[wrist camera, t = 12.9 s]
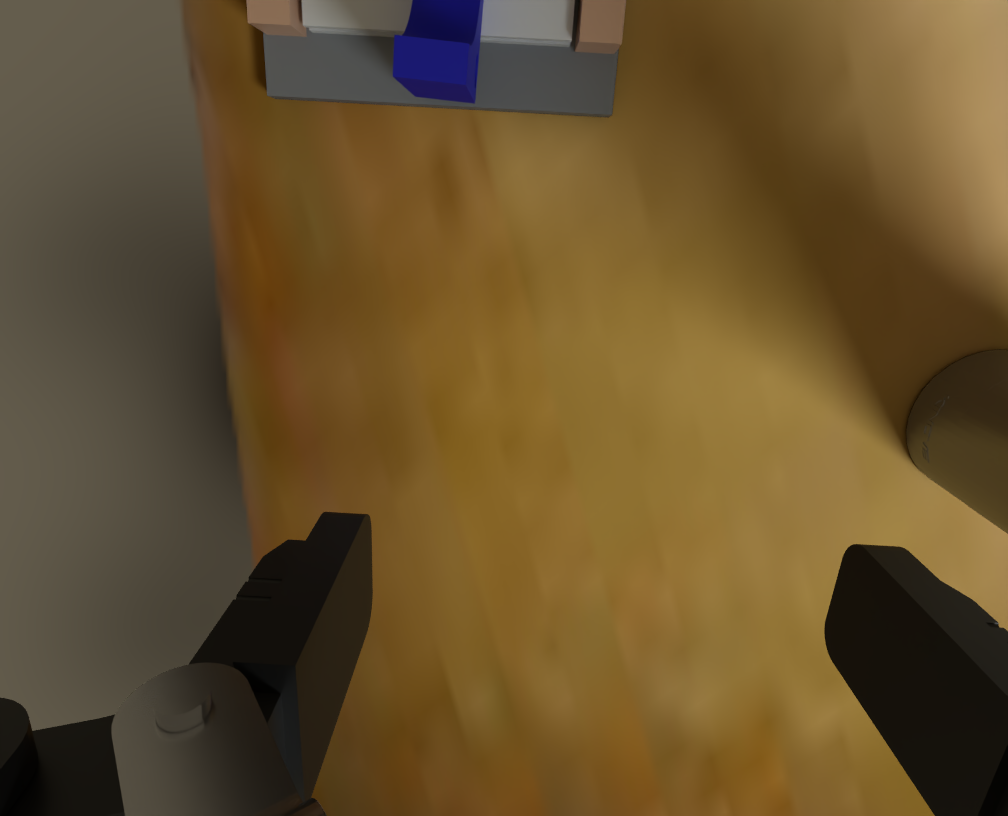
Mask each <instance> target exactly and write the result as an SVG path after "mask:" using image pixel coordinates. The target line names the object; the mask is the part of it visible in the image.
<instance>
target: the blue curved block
mask: <svg viewBox="0 0 1008 816" xmlns="http://www.w3.org/2000/svg"><path fill="white" fill-rule="evenodd" d="M483 3H484V0H412V6H411V12H410V16H409V20H408V23H407V27H406V29H405V31H404V33H403V35H402V36H401V35H394V57H393V77H394V78H395V79H396V80H397V81H398V82H399V83H400V84H402V85H403V86H404V87H405V88H406V89H407V90H408V91H409V92H410V93H412V94H413V95H414V96H415V97H422V98H430V99H439V100H448V101H456V102H465V103H473V104H475V99H476V87H477V75H478V63H479V51H480V39H481V27H482V15H483Z"/></svg>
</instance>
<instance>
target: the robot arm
mask: <svg viewBox="0 0 1008 816" xmlns="http://www.w3.org/2000/svg"><path fill="white" fill-rule="evenodd" d="M906 435H907V447H908V450H909V453H910V456H911V459H912V460H913V462H914V463H915V465H916V466H917V468H918V469H919V470H920V471H921V472H922V473H924V474H925V475H926V476H927V477H928V478H929V479H931V480H932V481H934V482H935V483H937V484H938V485H939V486H941V487H942V488H944V489H945V490H947V491H948V492H949V493H951V494H952V495H954V496H955V497H956V498H958V499H959V500H961V501H962V502H964V503H965V504H966V505H968V506H969V507H970V508H972V509H973V510H974V511H976V512H977V513H979V514H980V515H982V516H983V517H984V518H986V519H987V520H989V521H990V522H992V523H993V524H994V525H996V526H997V527H999V528H1000V529H1002V530H1003V531H1004V532H1006V533H1007V534H1008V350H992V351H984V352H980V353H977V354H974V355H971V356H967V357H965V358H963V359H961V360H959V361H957V362H955V363H953V364H951V365H950V366H948V367H947V368H946V369H944V370H943V371H942V372H940V373H939V374H938V375H936V376H935V377H934V378H933V379H932V380H931V382H930V383H929V384H928V385H927V386H926V387H925V388H924V389H923V391H922V392H921V394H920V395H919V397H918V398H917V400H916V402H915V403H914V406H913V408H912V411H911V413H910V416H909V419H908V425H907V431H906ZM372 595H373V589H372V533H371V520H370V516H369V515H368V514H353V513H336V512H324V513H322V515H321V516H320V518H319V519H318V521H317V523H316V524H315V526H314V528H313V529H312V531H311V533H310V534H309V536H308V538H307V539H306V541H302V540H287V541H285V542H284V543H282V544H281V545H279V546H278V547H277V548H275V549H274V550H272V551H271V552H269V553H268V554H266V555H265V556H263V558H262V559H261V560H260V562H259V563H258V565H257V566H256V568H255V569H254V571H253V572H252V573H251V575H250V576H249V581H248V582H245V584H244V585H243V587H242V588H241V589H240V591H239V592H238V594H237V598H236V600H233V601H232V602H231V604H230V605H229V607H228V608H227V610H226V611H225V613H224V614H223V615H222V617H221V618H220V620H219V621H218V623H217V624H216V626H215V627H214V628H213V630H212V631H211V633H210V634H209V636H208V637H207V639H206V640H205V641H204V643H203V644H202V646H201V647H200V649H199V650H198V652H197V653H196V654H195V656H194V657H193V659H192V660H191V662H190V663H189V665H184V666H181V667H177V668H174V669H171V670H168V671H166V672H163V673H161V674H159V675H157V676H155V677H153V678H151V679H150V680H148V681H147V682H146V683H144V684H142V685H141V686H139V687H138V688H137V689H136V690H135V691H133V692H132V693H131V694H130V695H129V696H128V697H127V698H126V699H125V700H124V702H123V703H122V704H121V706H120V707H119V709H118V710H117V712H116V714H115V715H112V716H107V717H103V718H99V719H94V720H88V721H83V722H79V723H73V724H67V725H63V726H57V727H52V728H46V729H41V730H36V731H32V728H31V724H30V720H29V716H28V714H27V712H26V710H25V708H24V707H23V706H22V705H21V704H19V703H17V702H15V701H13V700H9V699H5V698H0V816H327V815H326V813H325V812H324V810H323V808H322V807H321V805H320V804H319V803H318V801H317V800H316V799H314V798H311V796H312V793H313V790H314V787H315V784H316V781H317V778H318V775H319V772H320V769H321V766H322V763H323V760H324V758H325V755H326V752H327V749H328V746H329V743H330V740H331V737H332V734H333V731H334V728H335V725H336V722H337V719H338V716H339V713H340V710H341V707H342V704H343V702H344V699H345V696H346V693H347V690H348V687H349V684H350V681H351V678H352V675H353V672H354V669H355V666H356V663H357V660H358V657H359V654H360V651H361V648H362V646H363V643H364V640H365V637H366V634H367V630H368V627H369V622H370V616H371V609H372ZM825 642H826V647H827V650H828V653H829V656H830V658H831V660H832V662H833V663H834V665H835V666H836V668H837V669H838V671H839V672H840V674H841V675H842V677H843V678H844V680H845V681H846V683H847V684H848V686H849V687H850V689H851V690H852V692H853V693H854V695H855V696H856V698H857V699H858V701H859V702H860V704H861V705H862V707H863V708H864V710H865V711H866V713H867V714H868V716H869V717H870V719H871V720H872V722H873V723H874V725H875V726H876V728H877V729H878V731H879V732H880V734H881V735H882V737H883V738H884V740H885V741H886V743H887V744H888V746H889V747H890V749H891V750H892V752H893V753H894V755H895V756H896V758H897V759H898V761H899V762H900V764H901V765H902V767H903V768H904V770H905V771H906V773H907V774H908V776H909V778H910V779H911V781H912V782H913V784H914V785H915V787H916V788H917V790H918V791H919V793H920V794H921V796H922V797H923V799H924V800H925V802H926V803H927V805H928V806H929V808H930V809H931V811H932V812H933V814H934V815H935V816H1008V631H1007V630H1006V629H1004V628H999V626H998V622H997V621H996V620H994V619H993V618H992V617H991V616H990V615H989V614H988V613H987V612H986V611H985V610H983V609H982V608H981V607H980V606H979V605H978V604H977V603H976V602H975V601H973V600H972V599H971V598H969V597H967V596H965V595H964V594H962V593H960V592H959V591H957V590H955V589H954V588H952V587H950V586H949V585H947V584H945V583H944V582H942V581H940V580H939V579H938V578H937V577H936V576H935V575H934V574H933V573H932V572H931V571H929V570H928V569H927V568H926V567H925V566H924V565H923V564H922V563H921V562H920V561H919V560H918V559H917V558H915V557H914V556H913V555H912V554H911V553H910V552H909V551H908V550H906V549H905V548H902V547H895V546H878V545H861V544H854V545H851V546H850V547H848V549H847V550H846V551H845V553H844V555H843V558H842V562H841V566H840V569H839V573H838V577H837V580H836V584H835V588H834V591H833V595H832V599H831V602H830V606H829V610H828V613H827V617H826V621H825Z"/></svg>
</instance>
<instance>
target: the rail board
mask: <svg viewBox="0 0 1008 816" xmlns="http://www.w3.org/2000/svg"><path fill="white" fill-rule="evenodd" d="M246 2H247V16H248V23H249V24H251V25H252V26H254V27H256V28H257V29H259V30H260V31H262V32H263V39H264V54H265V69H266V84H267V96H270V97H272V98H275V99H289V100H307V101H325V102H342V103H360V104H378V105H396V106H414V107H432V108H450V109H468V110H485V111H503V112H521V113H539V114H557V115H575V116H593V117H610V116H611V115H612V110H613V100H614V90H615V80H616V71H617V61H618V51H619V47H620V46H621V44H622V37H623V27H624V17H625V7H626V0H484V3H483V15H482V27H481V39H480V51H479V63H478V75H477V87H476V99H475V104H473V103H465V102H456V101H448V100H439V99H430V98H422V97H415V96H414V95H413V94H412V93H410V92H409V91H408V90H407V89H406V88H405V87H404V86H403V85H402V84H400V83H399V82H398V81H397V80H396V79H395V78H394V77H393V57H394V35H401V36H402V35H403V33H404V31H405V29H406V27H407V23H408V20H409V16H410V12H411V6H412V0H246Z"/></svg>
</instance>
